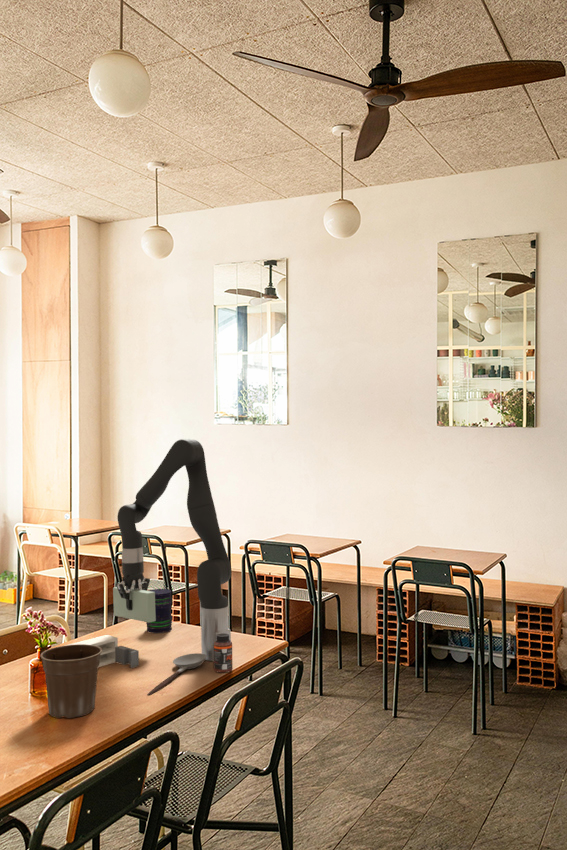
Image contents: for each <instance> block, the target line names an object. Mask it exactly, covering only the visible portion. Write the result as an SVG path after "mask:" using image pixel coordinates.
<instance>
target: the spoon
mask: <svg viewBox="0 0 567 850" xmlns="http://www.w3.org/2000/svg"><path fill="white" fill-rule="evenodd" d="M205 659H206V655H205V654H202V653H199V652H196V653H188V654H183V655H180V656H178V657H176V658H174V659H173V660H172V663H173V665H175V666H176V667H178V668H179V669H178V670H176V671H175V672H174V673H172V674H171V675H170V676H169V677H167V678H165V679H164V680H163V681H161V682H160V683H158V685H156V686H155V687H153V689H151V690H150V691H149V692H147V696H151V695H153V694H155V693H156V692H159V691H160V690H161V689H163V688H164V686H165V687H166V686H167V684H168V685H169V684H170V683H171V682H172V681H174V679H176V677H177V676H178V675H180V674H181V673H183V672H184V671H186V670H191V669H195V668H198V667H199V666H201V665H202V663H203V664H204V662H205V661H206V660H205Z"/></svg>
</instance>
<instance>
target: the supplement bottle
mask: <svg viewBox="0 0 567 850" xmlns="http://www.w3.org/2000/svg"><path fill="white" fill-rule="evenodd" d="M216 639H217V641H215V642H214V661H213V670H214V672H216V673H221V674H223V673H225V674H226V673H229V672H231V671H232V670H233V642H232V640H231V641H230V640H229V634H226V633H221V634H217V638H216Z"/></svg>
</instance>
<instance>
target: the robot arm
mask: <svg viewBox="0 0 567 850" xmlns="http://www.w3.org/2000/svg"><path fill="white" fill-rule="evenodd" d="M206 464H207V463H206V456H205V449H204V446H203V445H202V443H201V442H200V441H198V439H191V438H181V439H179V440H175V442H174V443H173V444H172V445H171V446H170V448H169V450H168V451H167V453H166V455H165V457H164V458H163V460H162V461H161V463H160V464H159V465H158V467H157V469H156V470H155V472H154V473H153V474H152V475H151V477H150V478H149V479H148V480H147V481H146V482H145V483H144V485H143V486H142V487H141V488H140V489H139V490H138V491H137V493H136V495H135V501H134V502H133V503H132V504H131V503H130V504H125V505H122V506H120V507H119V509H118V510H117V511H118V512H117V518H116V519H117V522H118V523H117V524H118V527H119V531H120V535H121V546H122V548H121V565H122V566H121V570H122V571H121V573H122V576H123V577H122V579H121V580H122V581H121V582H119V583H116V584H115V587H117V589H118V591H119V594H120V596H121V598H123V599H126V608H127V610H130V611H131V610H132V609H133V608H132V593H133V591H134V589H138V590H145V591H148V588H149V585H150V582H151V579H150V578H148V577H145V576H144V572H145V569H144V568H145V567H144V566H145V565H144V563H145V562H144V550H143V533H142V532H141V531H139V530H137V526H136V524H138V523H141V522H142V521H144V519H146V517H147V515H148V514H149V512H150V511H151V508H152V507H153V505H154V504H155V503H156V502H157V501H159V499H160V497H162V495H163V494H164V493H165V491H166V490H167V488H168V485H169V483H170V482H171V479H172V478H173V477H174V475H175V474H176V473H177V472H179V470H181V468H183V467H185V470H186V473H187V479H188V489H187V495H186V496H187V498H186V507H187V509H186V510H187V513H188V517H189V521H190V524H191V526H192V528H193V530H194V531H195V533H196V534H197V536H198V537H199V539H200V540H201V541H202V543H203V545H204V549H205V552H206V555H207V559H206V560H204V561H202V562H200V563H199V565H198V567H197V572H196V582H197V584H196V585H197V596H198V600H199V602H200V630H201V631H200V637H201V638H200V639H201V642H200V643H201V654H205V655H206V659H205V660H204V661H208V662H214V642H215V641H217V639H216V638H217V634H221V633H226V634H229V640H230V641H231V642H232V637H231V636H232V635H231V634H232V632H231V629H230V628H229V599H228V597H227V596H226V595H223V594H222V585H223V584H226V583H227V582H229V581H230V579H231V577H232V565H231V562H230V558H229V555H228V553H227V550H226V548H225V545H224V544H225V543H224V541H223V536H222V533H221V528H220V525H219V520H218V516H217V512H216V507H215V502H214V500H213V499H214V498H213V496H212V492H211V491H212V490H211V486H210V481H209V477H208V472H207V465H206ZM124 588H125V589H124ZM129 590H130V591H129Z"/></svg>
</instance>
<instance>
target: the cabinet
mask: <svg viewBox="0 0 567 850" xmlns="http://www.w3.org/2000/svg"><path fill="white" fill-rule="evenodd" d="M118 638H119V637H117V636H115V635H114V636H113V635H109V634H104V635H100V636H97V637H92V638H89V639H84V640H82V641H78V642H77V641H76V642H73V643H68V645H77V644H86V645H94V646H98V647H100V648H101V649H102V653H101V654H100V661H99V666H98V668H101V667H105V666H107V665H110V664H111V665H112V664H115V663H117V664H120V665H123V666H125V665H129V666H130V668H131V669H134V668H136V667H140V660H139V659H140V658H139V657H140V654H139V652H140V651H139V650H138V649H135V648H132V647H131V648H130V647H128V646H124V645H119V643H118V642H119V641H118V640H119V639H118ZM66 645H67V644H66ZM66 645H64V646H66Z"/></svg>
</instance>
